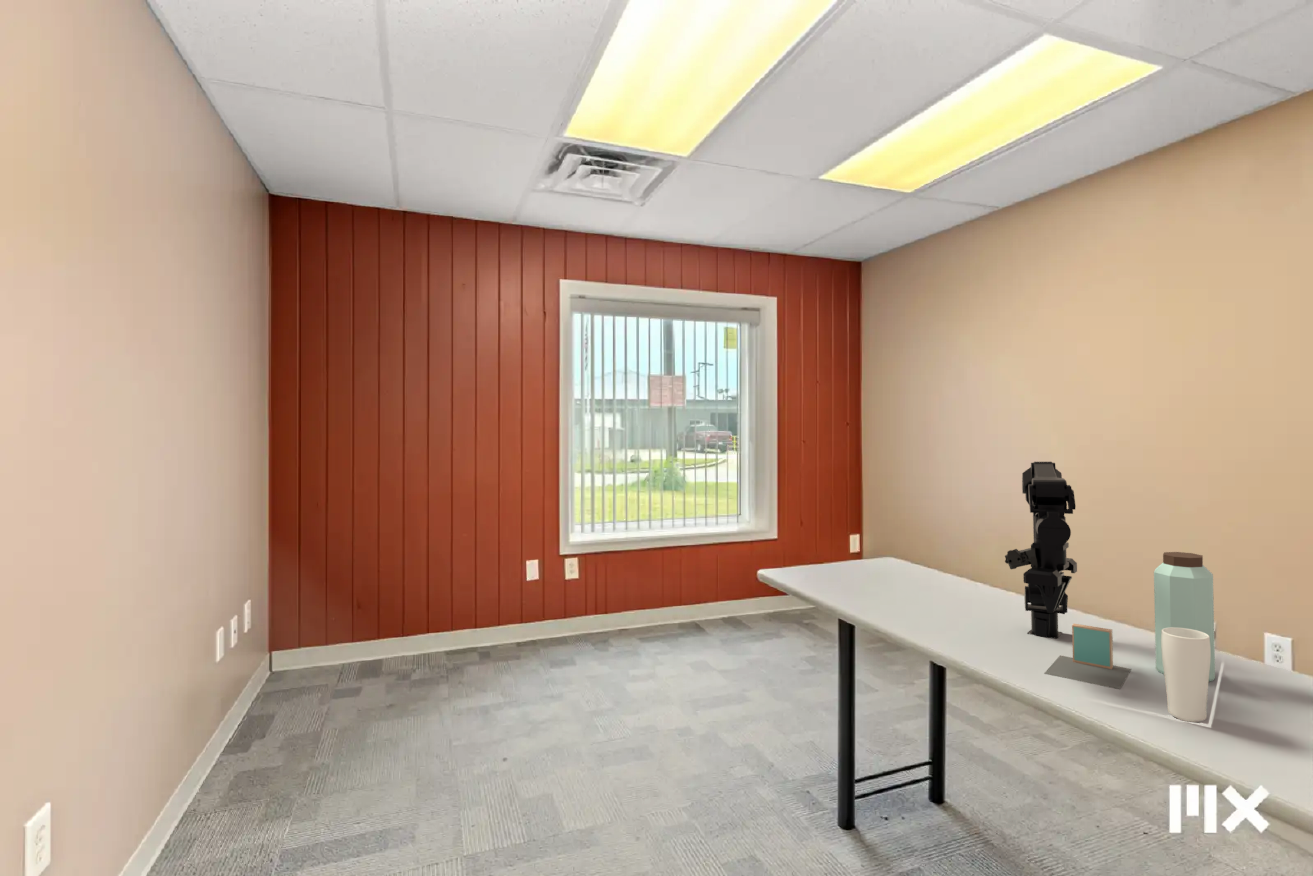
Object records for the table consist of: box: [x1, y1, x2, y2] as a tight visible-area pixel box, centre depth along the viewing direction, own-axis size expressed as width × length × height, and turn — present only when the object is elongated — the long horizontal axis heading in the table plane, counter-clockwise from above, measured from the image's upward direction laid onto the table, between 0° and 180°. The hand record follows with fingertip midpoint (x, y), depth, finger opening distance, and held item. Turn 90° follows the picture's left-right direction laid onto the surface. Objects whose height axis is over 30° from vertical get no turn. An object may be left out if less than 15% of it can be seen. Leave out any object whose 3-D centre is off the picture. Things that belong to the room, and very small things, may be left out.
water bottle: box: [1153, 551, 1216, 682], centre depth 133 cm, size 10×10×25 cm
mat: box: [1043, 654, 1132, 690], centre depth 136 cm, size 14×13×1 cm
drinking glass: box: [1161, 627, 1211, 723], centre depth 115 cm, size 7×7×15 cm
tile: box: [1071, 623, 1114, 669], centre depth 139 cm, size 2×7×8 cm, turn 46°
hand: (1051, 611), depth 139 cm, fingers open, 2 cm apart
